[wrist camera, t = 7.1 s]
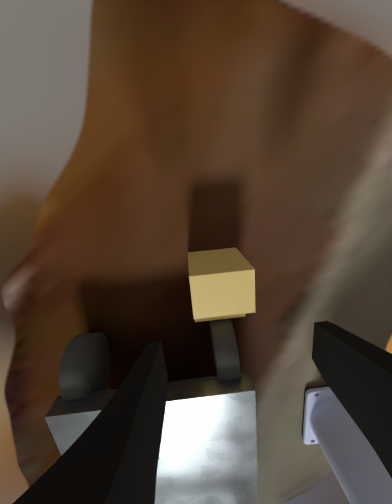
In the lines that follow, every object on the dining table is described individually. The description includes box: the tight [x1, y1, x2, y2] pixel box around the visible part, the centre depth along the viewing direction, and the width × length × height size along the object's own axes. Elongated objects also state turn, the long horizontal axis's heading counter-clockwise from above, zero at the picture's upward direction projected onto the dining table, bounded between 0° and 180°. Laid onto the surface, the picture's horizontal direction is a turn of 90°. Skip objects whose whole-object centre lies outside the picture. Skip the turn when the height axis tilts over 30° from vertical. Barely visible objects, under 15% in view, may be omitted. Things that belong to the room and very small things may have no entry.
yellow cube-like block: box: [188, 247, 255, 322], centre depth 16 cm, size 4×5×5 cm
